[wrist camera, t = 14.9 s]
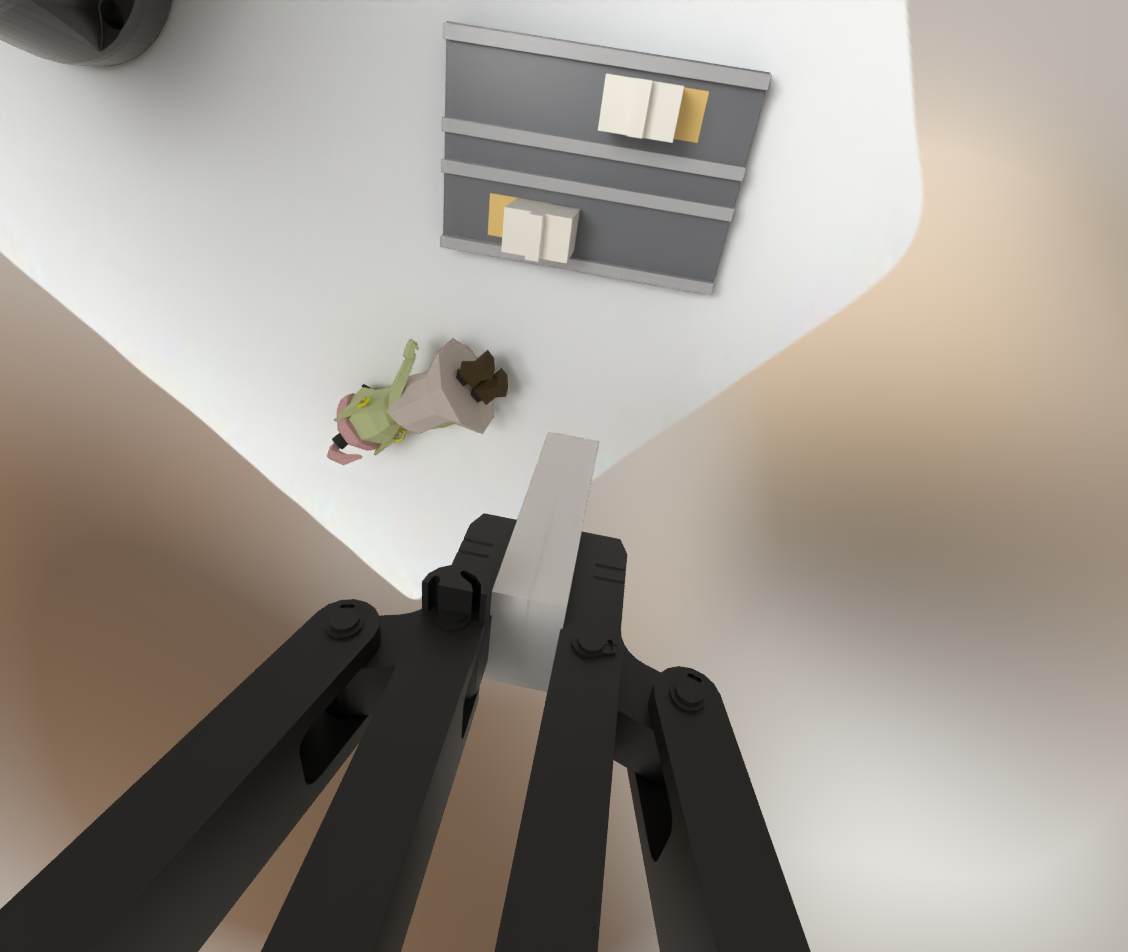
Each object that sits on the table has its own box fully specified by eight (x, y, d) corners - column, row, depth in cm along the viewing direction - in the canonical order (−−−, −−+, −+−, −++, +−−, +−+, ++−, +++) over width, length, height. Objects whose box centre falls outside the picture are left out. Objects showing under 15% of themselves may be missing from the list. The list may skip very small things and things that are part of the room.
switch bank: (450, 242, 40) (440, 248, 38) (454, 24, 33) (443, 20, 32) (708, 287, 39) (710, 296, 37) (766, 73, 33) (772, 72, 31)
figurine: (468, 298, 40) (310, 364, 46) (452, 372, 36) (280, 435, 42) (528, 380, 47) (382, 430, 52) (521, 452, 42) (362, 498, 48)
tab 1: (513, 239, 38) (497, 254, 34) (517, 198, 36) (501, 209, 33) (574, 250, 38) (564, 266, 34) (580, 209, 36) (570, 221, 33)
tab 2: (603, 127, 34) (596, 131, 30) (611, 75, 32) (604, 73, 29) (671, 138, 33) (672, 143, 30) (682, 87, 32) (684, 85, 28)
